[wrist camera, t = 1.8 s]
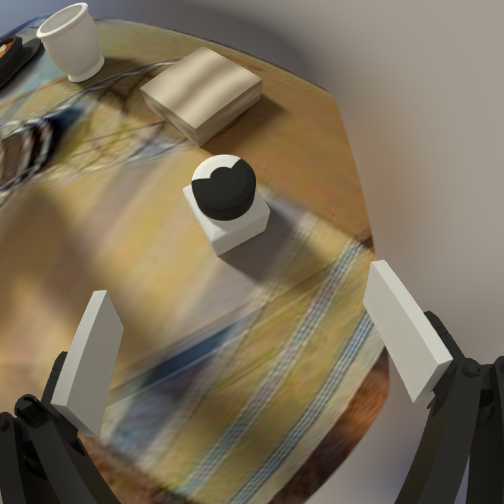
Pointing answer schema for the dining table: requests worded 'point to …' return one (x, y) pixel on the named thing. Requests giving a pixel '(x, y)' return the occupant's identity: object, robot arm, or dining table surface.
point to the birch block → (202, 94)
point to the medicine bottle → (226, 202)
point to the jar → (73, 42)
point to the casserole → (15, 55)
